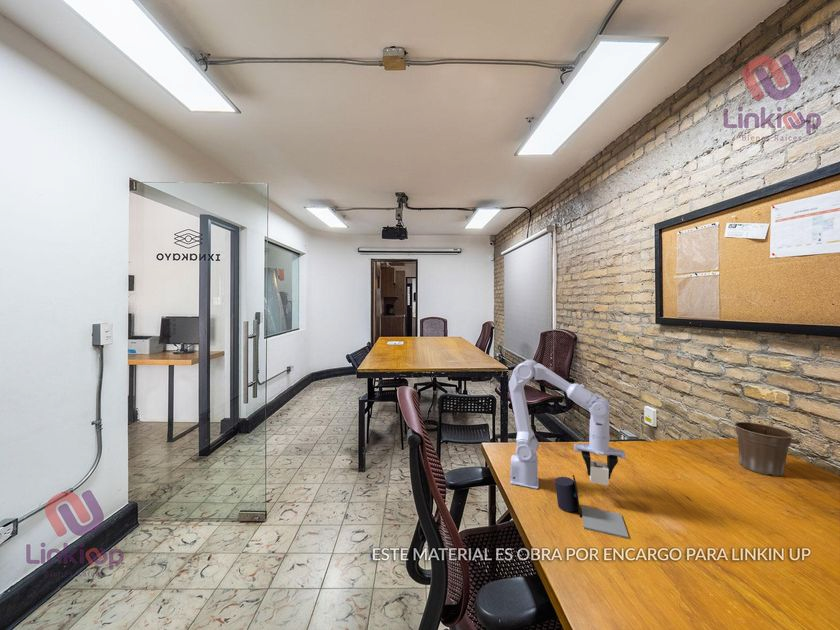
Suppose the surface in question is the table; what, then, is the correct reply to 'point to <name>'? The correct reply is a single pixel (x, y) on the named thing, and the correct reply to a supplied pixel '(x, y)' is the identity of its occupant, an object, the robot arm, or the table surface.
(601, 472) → the letter cube
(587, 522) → the pad
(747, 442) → the plant pot
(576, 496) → the speaker
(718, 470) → the table surface
